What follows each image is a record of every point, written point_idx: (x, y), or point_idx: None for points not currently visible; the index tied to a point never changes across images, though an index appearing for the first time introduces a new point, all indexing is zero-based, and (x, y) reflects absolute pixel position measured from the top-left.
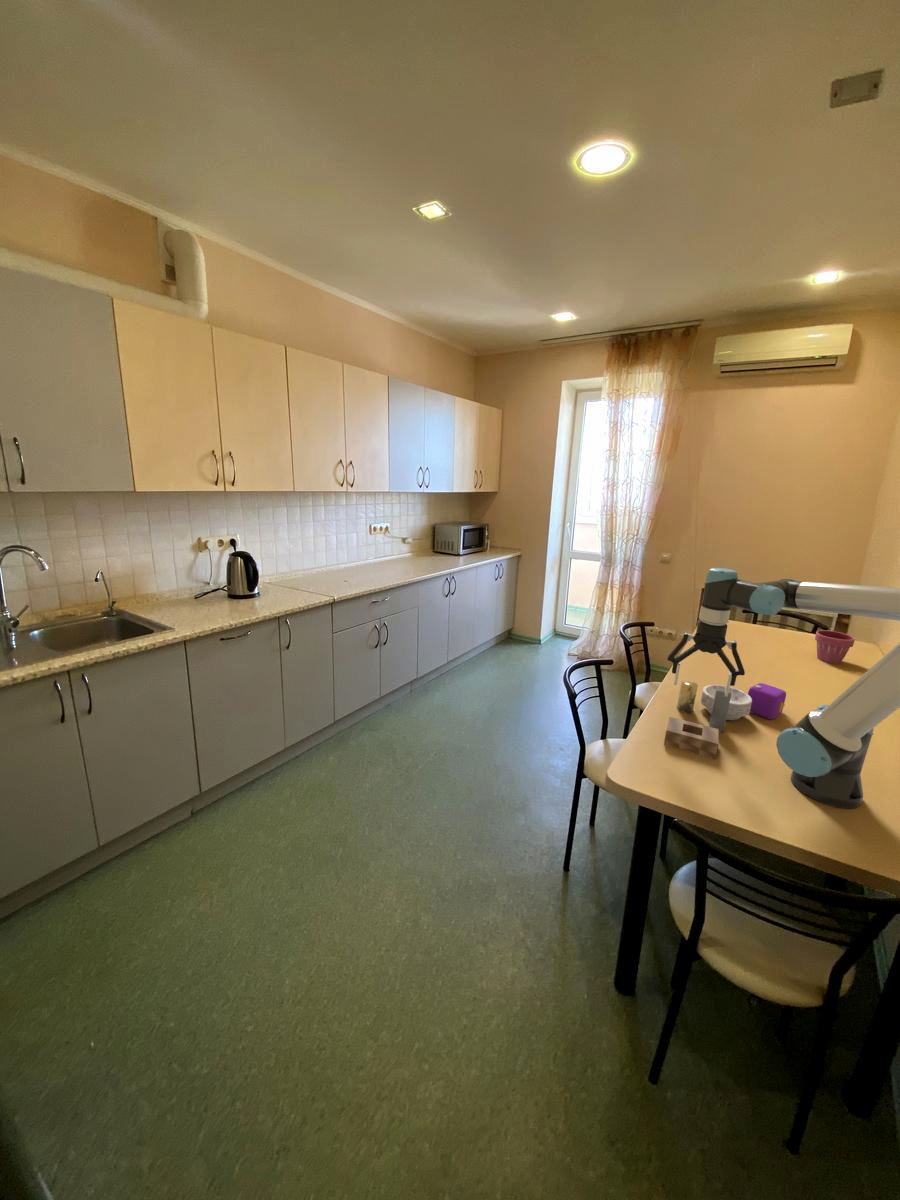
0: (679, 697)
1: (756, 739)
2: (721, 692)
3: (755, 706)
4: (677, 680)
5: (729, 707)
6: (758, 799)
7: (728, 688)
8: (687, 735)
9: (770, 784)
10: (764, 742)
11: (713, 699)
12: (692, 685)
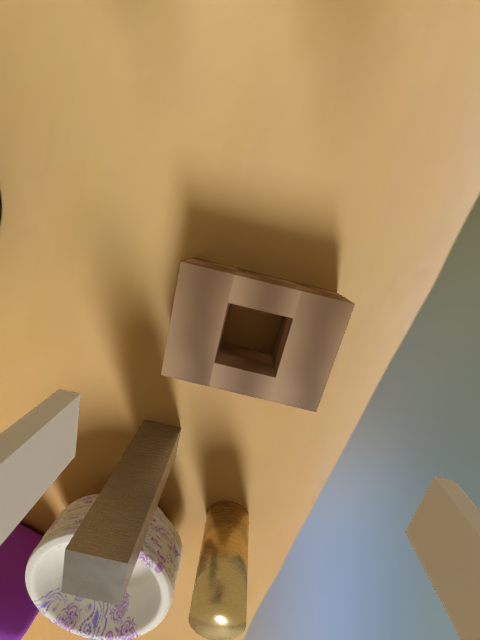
0: (247, 553)
1: None
2: (108, 553)
3: None
4: (421, 544)
5: None
6: (105, 46)
7: (3, 439)
8: (281, 288)
9: (58, 162)
10: None
11: (146, 549)
12: (209, 611)
